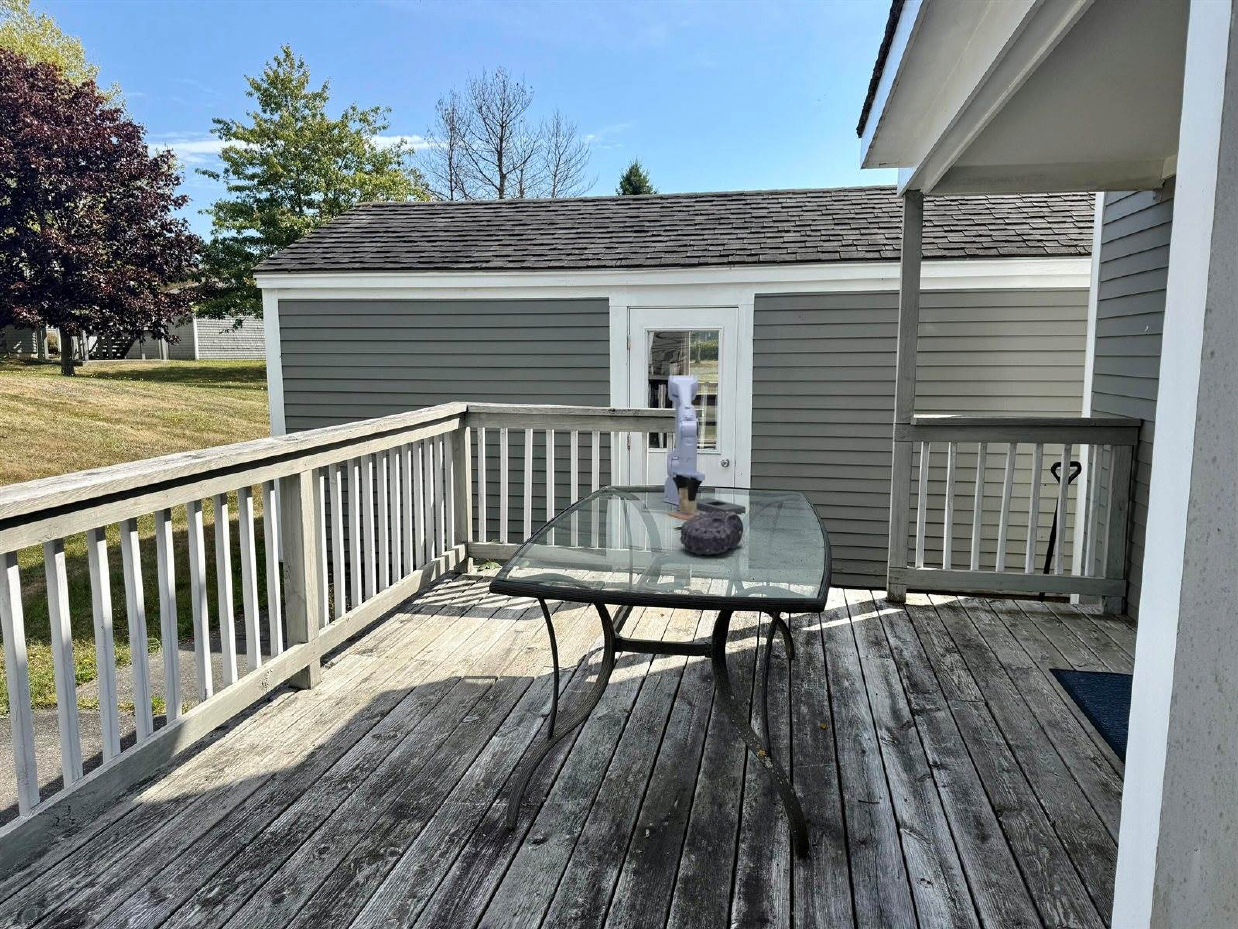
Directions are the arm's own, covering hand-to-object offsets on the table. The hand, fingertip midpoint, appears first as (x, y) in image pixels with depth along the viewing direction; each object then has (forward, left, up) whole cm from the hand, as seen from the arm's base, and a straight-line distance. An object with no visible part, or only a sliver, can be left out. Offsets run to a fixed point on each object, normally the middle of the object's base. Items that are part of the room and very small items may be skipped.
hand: (687, 499), depth 274 cm
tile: (0, 0, -5) cm, 5 cm away
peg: (0, 0, -3) cm, 4 cm away
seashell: (+37, -22, -6) cm, 43 cm away
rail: (-1, +14, -5) cm, 15 cm away
